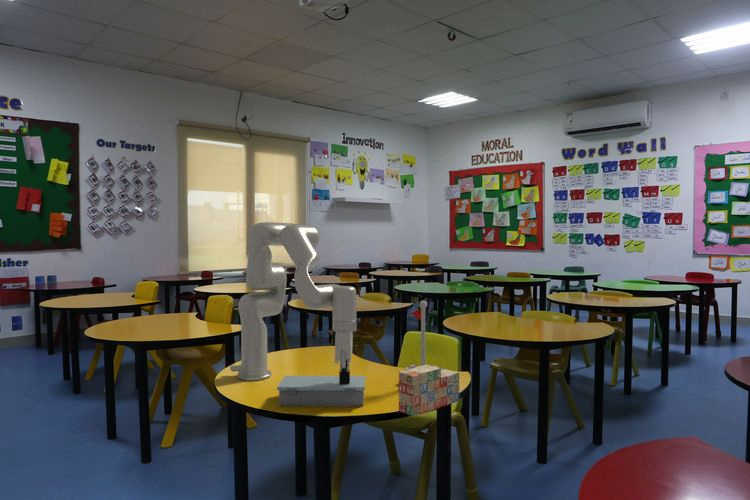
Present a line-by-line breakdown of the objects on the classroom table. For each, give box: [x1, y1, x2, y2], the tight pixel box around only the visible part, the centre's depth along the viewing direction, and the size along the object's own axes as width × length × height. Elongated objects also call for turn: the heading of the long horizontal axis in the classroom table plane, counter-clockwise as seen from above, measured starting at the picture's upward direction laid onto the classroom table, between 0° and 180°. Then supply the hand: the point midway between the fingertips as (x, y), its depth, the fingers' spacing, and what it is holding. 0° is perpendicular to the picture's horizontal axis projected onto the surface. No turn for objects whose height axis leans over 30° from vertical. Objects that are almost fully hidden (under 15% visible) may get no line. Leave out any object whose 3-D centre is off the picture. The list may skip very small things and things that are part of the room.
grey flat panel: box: [276, 375, 367, 394], centre depth 153 cm, size 27×13×2 cm, turn 90°
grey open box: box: [278, 390, 365, 407], centre depth 153 cm, size 26×12×5 cm, turn 90°
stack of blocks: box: [398, 364, 460, 418], centre depth 148 cm, size 21×6×12 cm, turn 131°
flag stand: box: [404, 300, 440, 370], centre depth 171 cm, size 13×13×30 cm
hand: (344, 383), depth 150 cm, fingers closed
